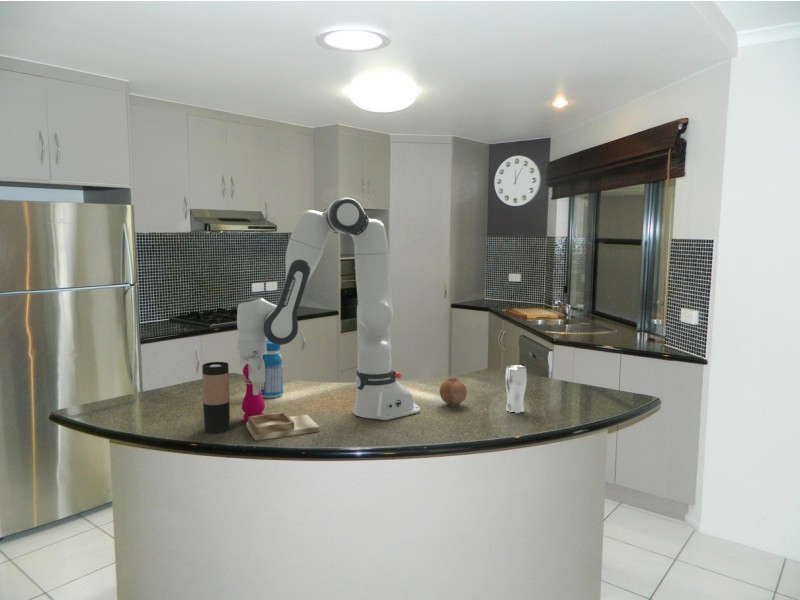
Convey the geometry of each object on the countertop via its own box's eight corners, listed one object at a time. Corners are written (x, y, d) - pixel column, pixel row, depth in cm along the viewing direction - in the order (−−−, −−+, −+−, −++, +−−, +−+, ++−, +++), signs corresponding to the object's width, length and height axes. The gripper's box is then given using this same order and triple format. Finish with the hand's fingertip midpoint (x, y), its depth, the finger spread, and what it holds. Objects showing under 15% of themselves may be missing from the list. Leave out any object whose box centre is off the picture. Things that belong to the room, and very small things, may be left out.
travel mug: (199, 429, 176) (197, 364, 174) (222, 423, 181) (221, 360, 179) (211, 435, 171) (209, 368, 169) (235, 429, 176) (233, 364, 174)
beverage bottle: (272, 399, 208) (271, 344, 206) (255, 396, 212) (253, 342, 210) (288, 394, 216) (287, 340, 213) (271, 391, 220) (270, 338, 218)
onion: (443, 400, 208) (443, 373, 207) (469, 403, 205) (469, 375, 204) (436, 407, 200) (436, 379, 198) (462, 410, 196) (463, 381, 195)
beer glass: (508, 406, 202) (510, 364, 200) (528, 409, 198) (529, 366, 196) (501, 411, 196) (502, 368, 194) (521, 415, 192) (522, 370, 190)
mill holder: (306, 419, 186) (306, 408, 186) (319, 431, 175) (319, 420, 174) (246, 427, 178) (246, 416, 178) (255, 440, 167) (255, 428, 166)
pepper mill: (259, 423, 181) (258, 360, 179) (237, 422, 183) (236, 359, 181) (269, 417, 188) (267, 356, 186) (248, 415, 190) (247, 355, 188)
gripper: (269, 354, 175) (270, 398, 177) (255, 342, 193) (256, 383, 195) (248, 355, 172) (249, 401, 174) (236, 344, 191) (237, 385, 192)
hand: (253, 391), depth 185 cm, fingers open, 5 cm apart
